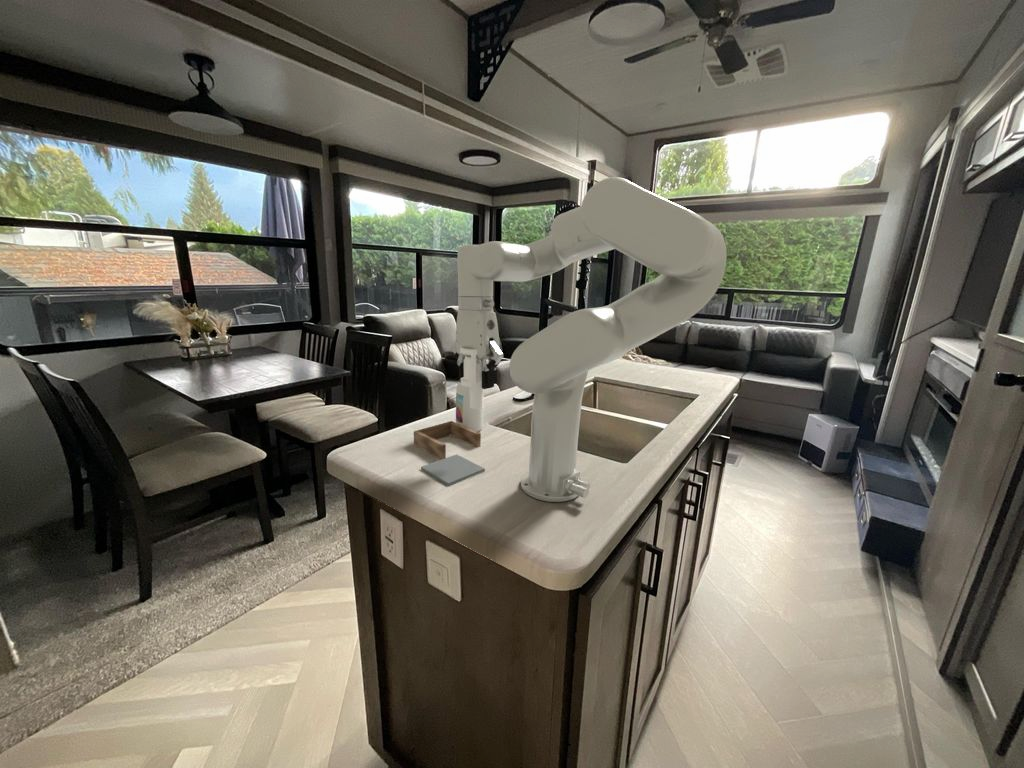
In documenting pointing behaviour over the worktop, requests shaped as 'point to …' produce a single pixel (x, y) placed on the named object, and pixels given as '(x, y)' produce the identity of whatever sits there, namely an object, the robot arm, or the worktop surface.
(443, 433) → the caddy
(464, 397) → the milk bottle
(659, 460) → the worktop surface
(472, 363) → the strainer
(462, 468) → the trivet
